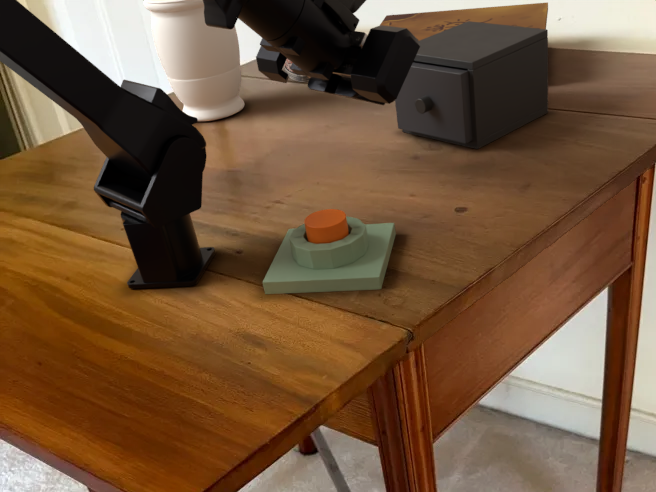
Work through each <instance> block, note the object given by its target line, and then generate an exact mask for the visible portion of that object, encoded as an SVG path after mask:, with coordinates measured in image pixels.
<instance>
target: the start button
mask: <svg viewBox="0 0 656 492" xmlns="http://www.w3.org/2000/svg"><path fill="white" fill-rule="evenodd" d="M346 216H347V214H346V213H345V211H344V210H341V209H336V208H328V209H327V208H326V209H321V210H317V211H314V212H312V213H310V214H308V215H307V216H306V217H305V218H304V222H303V224H305V229H306V234H307V239H308V242H311V243H315V244H323V243H332V242H335V241H338V240H342V239H343V238H345V237H346V236H348V235H349V230H348V224H347V218H346Z"/></svg>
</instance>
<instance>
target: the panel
mask: <svg viewBox="0 0 656 492" xmlns="http://www.w3.org/2000/svg"><path fill="white" fill-rule="evenodd" d="M346 218H347V224H348V230H349V235H348V236H346V237H345V238H343V239H342V240H338V241H335V242H332V243H323V244H315V243H311V242H308V239H307V234H306V229H305V224H304V223H302V224H301V225H299V226H297V227H293V228H288V229H287V232H286V234H285V235H284V238H283V239H282V242H281V244H280V246H279V248H278V250H277V252H276V254H275V255H274V258H273V259H272V262H271V264H270V265H269V268H268V270H267V271H266V274H265V276H264V278H263V280H262V287H263V290H264V294H265V295H281V294H284V295H285V294H304V293H305V294H307V293H330V292H332V293H333V292H353V291H376V290H377V291H378V290H382V287H383V284H384V280H385V276H386V273H387V268H388V265H389V261H390V258H391V254H392V251H393V250H392V249H393V247H394V243H395V239H396V236H397V234H396V225H395V222H383V223H366V224H365V223H364V222H363V221H362V220H361V219H360V218H357V217H354V216H353V217H352V216H350V215H349V216H348V215H346Z"/></svg>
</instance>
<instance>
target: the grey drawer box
mask: <svg viewBox="0 0 656 492" xmlns="http://www.w3.org/2000/svg"><path fill="white" fill-rule="evenodd" d="M548 35H549V33H548V29H547V28H546V29H537V28H528V27H518V26H509V25H499V24H490V23H480V22H471V21H468V22H465V23H463V24H460V25H458V26H455V27H452V28H450V29H447V30H445V31H442V32H440V33H437V34H435V35H432V36H430V37H427V38H425V39H422V40H420V41H419V44H420V48H419V50H418V52H417V55H416V57H415V59H414V61H417V62H424V63H431V64H437V65H444V66H450V67H457V68H463V69H468V71H469V88H470V104H471V120H472V137H473V140H472V141H470V142H468V143H466V144H465V143H460V142H456V141H451V140H447V139H443V138H438V137H434V136H429V135H425V134H421V133H416V132H412V131H407V130H403V129H401V131H402V133H406V134H409V135H413V136H418V137H423V138H427V139H430V140H431V139H432V140H437V141H439V142H444V143H449V144H452V145H453V144H454V145H458V146H461V147H466V148H467V147H468V148H471V149H476V150H479V149H481V148H483V147H485V146H487V145H489V144H491V143H492V142H495V141H496V140H499V139H500V138H502V137H504V136H506V135H507V134H510V133H511V132H513V131H515V130H518V129H519V128H521V127H523V126H526V125H527V124H529V123H531V122H533V121H535V120H536V119H538V118H541V117H543V116H544V115H546V114H549V37H548Z"/></svg>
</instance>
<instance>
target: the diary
mask: <svg viewBox="0 0 656 492" xmlns="http://www.w3.org/2000/svg"><path fill="white" fill-rule="evenodd" d="M548 15H549V2H538V3H537V2H536V3H525V4H524V3H523V4H510V5H500V6H488V7H487V6H486V7H475V8H462V9H449V10H437V11H425V12H423V11H422V12H411V13H400V14H398V13H397V14H388V15H386V16H385V17H384V18H383V20H382V21H381V23H380V24H379V26H380V25H383V26H391V27H400V28H407V29H408V30H409V31H410V32H411V33H412V34H413V35H414V36H415V37H416V38H417V39H418V41H420V40H422V39H425V38H427V37H430V36H432V35H435V34H437V33H440V32H442V31H445V30H447V29H450V28H452V27H455V26H458V25H460V24H463V23H465V22H468V21H471V22H480V23H490V24H499V25H509V26H518V27H528V28H537V29H547V22H548Z"/></svg>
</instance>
